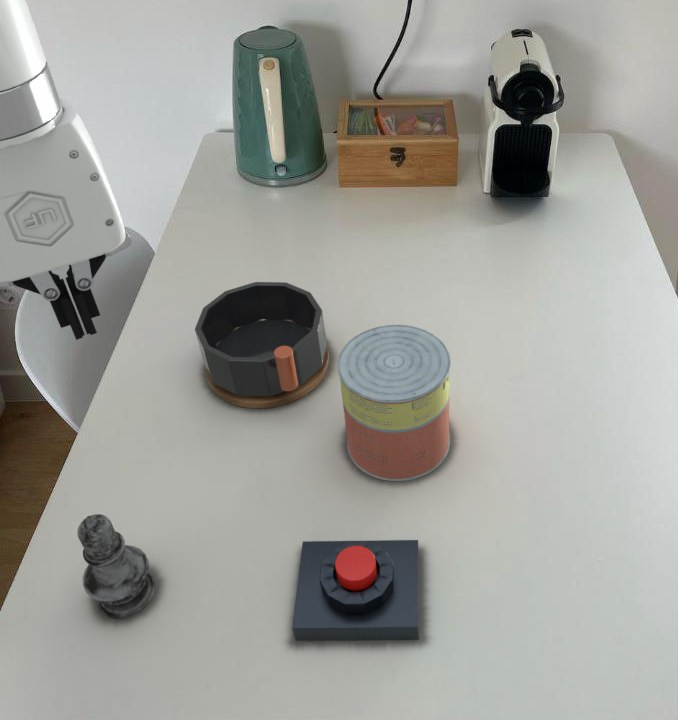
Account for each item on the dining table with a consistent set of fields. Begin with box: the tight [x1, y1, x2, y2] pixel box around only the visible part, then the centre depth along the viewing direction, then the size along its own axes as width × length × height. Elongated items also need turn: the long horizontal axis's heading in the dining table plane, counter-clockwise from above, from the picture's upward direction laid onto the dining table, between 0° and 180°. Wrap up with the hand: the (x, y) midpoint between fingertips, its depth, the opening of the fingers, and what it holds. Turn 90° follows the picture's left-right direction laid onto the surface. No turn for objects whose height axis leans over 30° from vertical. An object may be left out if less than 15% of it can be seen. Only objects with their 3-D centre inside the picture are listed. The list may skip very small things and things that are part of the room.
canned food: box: [337, 324, 451, 482], centre depth 85 cm, size 11×11×12 cm
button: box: [335, 546, 377, 591], centre depth 72 cm, size 4×4×2 cm
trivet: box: [204, 319, 330, 409], centre depth 99 cm, size 15×15×1 cm
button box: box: [292, 539, 420, 642], centre depth 74 cm, size 11×9×4 cm
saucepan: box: [194, 281, 328, 397], centre depth 94 cm, size 17×14×8 cm
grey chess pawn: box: [77, 513, 156, 620], centre depth 72 cm, size 6×6×12 cm
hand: (82, 326), depth 63 cm, fingers closed
